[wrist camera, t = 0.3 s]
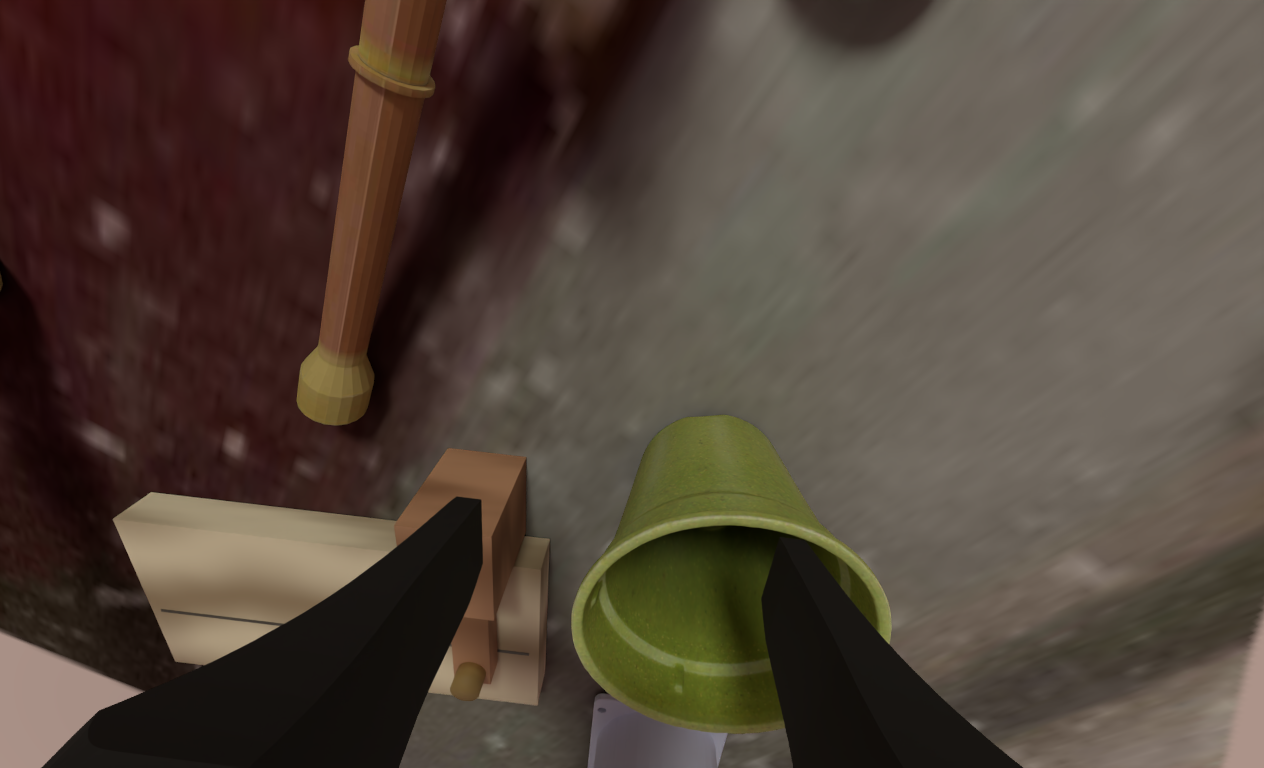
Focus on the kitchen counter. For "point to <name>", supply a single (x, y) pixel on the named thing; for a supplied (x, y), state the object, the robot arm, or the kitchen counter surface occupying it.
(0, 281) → the rubber mallet
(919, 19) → the kitchen counter surface
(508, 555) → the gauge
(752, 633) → the plant pot
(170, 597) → the board
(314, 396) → the hammer
